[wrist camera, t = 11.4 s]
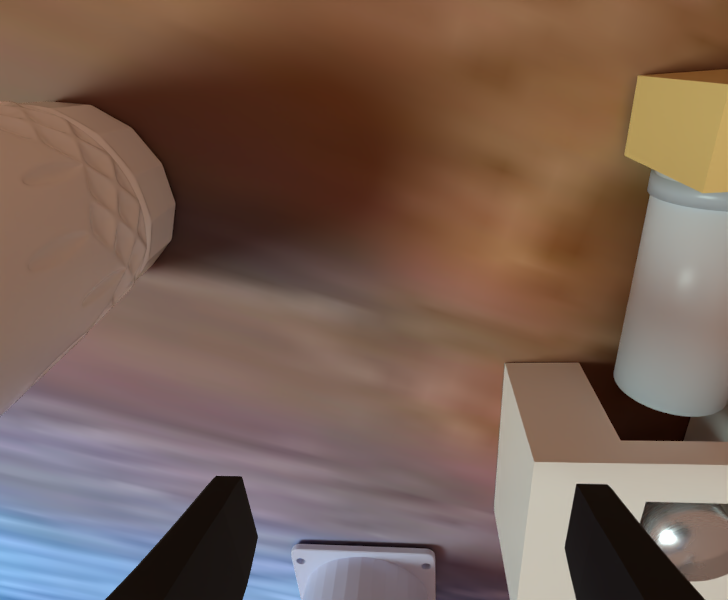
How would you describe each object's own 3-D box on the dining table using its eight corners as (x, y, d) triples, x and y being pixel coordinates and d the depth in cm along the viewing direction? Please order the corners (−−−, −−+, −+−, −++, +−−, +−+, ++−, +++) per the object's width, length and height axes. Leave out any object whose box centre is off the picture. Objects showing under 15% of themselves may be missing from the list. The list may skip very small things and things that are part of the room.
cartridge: (704, 354, 19) (790, 443, 15) (588, 355, 19) (638, 441, 15) (792, 63, 14) (959, 68, 10) (636, 75, 15) (730, 84, 10)
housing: (726, 515, 23) (811, 639, 18) (494, 508, 24) (514, 623, 19) (789, 361, 19) (920, 468, 14) (505, 362, 20) (534, 461, 15)
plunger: (702, 530, 18) (734, 583, 16) (624, 528, 18) (646, 579, 16) (722, 478, 17) (759, 528, 15) (638, 476, 17) (664, 525, 15)
